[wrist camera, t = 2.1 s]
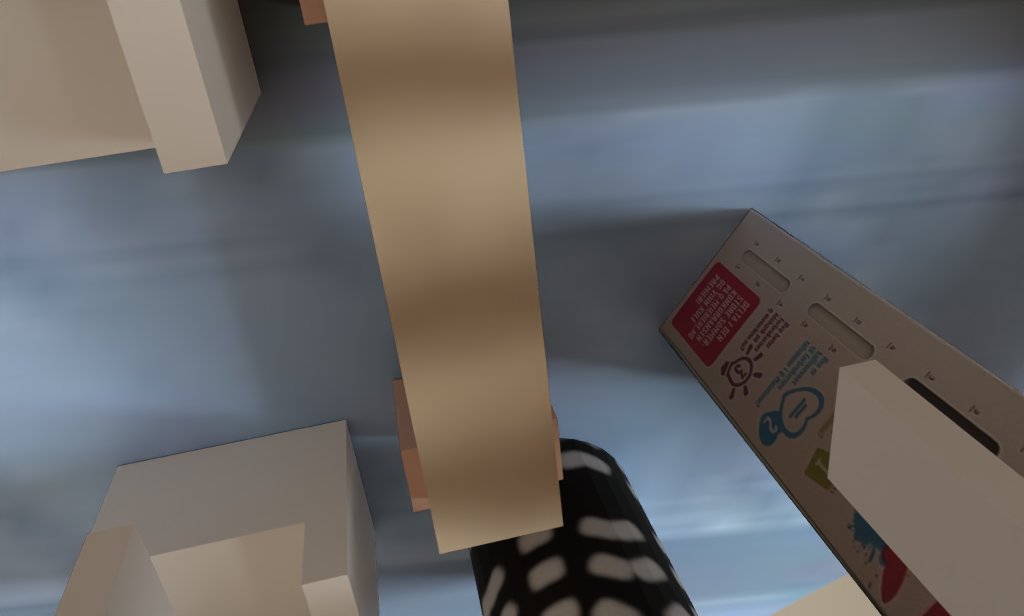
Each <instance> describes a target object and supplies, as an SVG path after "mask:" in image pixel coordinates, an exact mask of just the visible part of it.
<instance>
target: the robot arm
mask: <svg viewBox="0 0 1024 616" xmlns="http://www.w3.org/2000/svg"><path fill="white" fill-rule="evenodd" d="M827 478H828V479H829V480H830V481H831V482H832V483H833V485H834V486H835V487H836V488H837V489H838V490H839V491H840V492H841V493H842V495H843V496H844V497H845V498H846V499H847V500H848V501H849V502H850V504H851V505H852V506H853V507H854V508H855V509H856V510H857V511H858V512H859V514H860V515H861V516H862V517H863V518H864V519H865V520H866V521H867V522H868V524H869V525H870V526H871V527H872V528H873V529H874V530H875V531H876V533H877V534H878V535H879V536H880V537H881V538H882V539H883V540H884V541H885V543H886V544H887V545H888V546H889V547H890V548H891V549H892V550H893V552H894V553H895V554H896V555H897V556H898V557H899V558H900V559H901V560H902V562H903V563H904V564H905V565H906V566H907V567H908V568H909V569H910V570H911V572H912V573H913V574H914V575H915V576H916V577H917V578H918V579H919V581H920V582H921V583H922V584H923V585H924V586H925V587H926V588H927V589H928V591H929V592H930V593H931V594H932V595H933V596H934V597H935V598H936V600H937V601H938V602H939V603H940V604H941V605H942V606H943V607H944V608H945V610H946V611H947V612H948V613H949V614H950V615H951V616H1024V478H1023V477H1022V476H1020V475H1019V474H1018V473H1017V472H1015V471H1014V470H1013V469H1012V468H1010V467H1009V466H1008V465H1007V464H1005V463H1004V462H1003V461H1002V460H1000V459H999V458H998V457H997V456H995V455H994V454H993V453H992V452H990V451H989V450H988V449H987V448H985V447H984V446H983V445H982V444H980V443H979V442H978V441H977V440H975V439H974V438H973V437H972V436H970V435H969V434H968V433H967V432H965V431H964V430H963V429H962V428H960V427H959V426H958V425H957V424H955V423H954V422H953V421H952V420H950V419H949V418H948V417H947V416H945V415H944V414H943V413H942V412H940V411H939V410H938V409H937V408H935V407H934V406H933V405H932V404H930V403H929V402H928V401H927V400H925V399H924V398H923V397H922V396H920V395H919V394H918V393H917V392H915V391H914V390H913V389H912V388H910V387H909V386H908V385H907V384H905V383H904V382H903V381H902V380H900V379H899V378H898V377H897V376H895V375H894V374H893V373H892V372H890V371H889V370H888V369H887V368H885V367H884V366H883V365H882V364H880V363H879V362H878V361H877V360H871V361H866V362H862V363H857V364H853V365H848V366H844V367H839V376H838V385H837V395H836V404H835V413H834V422H833V431H832V440H831V449H830V459H829V468H828V477H827ZM55 616H176V614H175V611H174V609H173V607H172V605H171V603H170V600H169V598H168V596H167V594H166V592H165V589H164V587H163V585H162V583H161V581H160V579H159V576H158V574H157V572H156V570H155V568H154V565H153V563H152V561H151V559H150V557H149V554H148V552H147V550H146V548H145V546H144V543H143V541H142V539H141V537H140V535H139V532H138V530H137V528H136V526H135V524H130V525H125V526H121V527H116V528H112V529H107V530H103V531H98V532H94V533H89V534H87V536H86V539H85V541H84V544H83V546H82V549H81V551H80V554H79V556H78V559H77V561H76V564H75V566H74V569H73V571H72V574H71V576H70V579H69V581H68V584H67V586H66V589H65V591H64V594H63V596H62V599H61V601H60V604H59V606H58V609H57V611H56V614H55Z"/></svg>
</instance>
